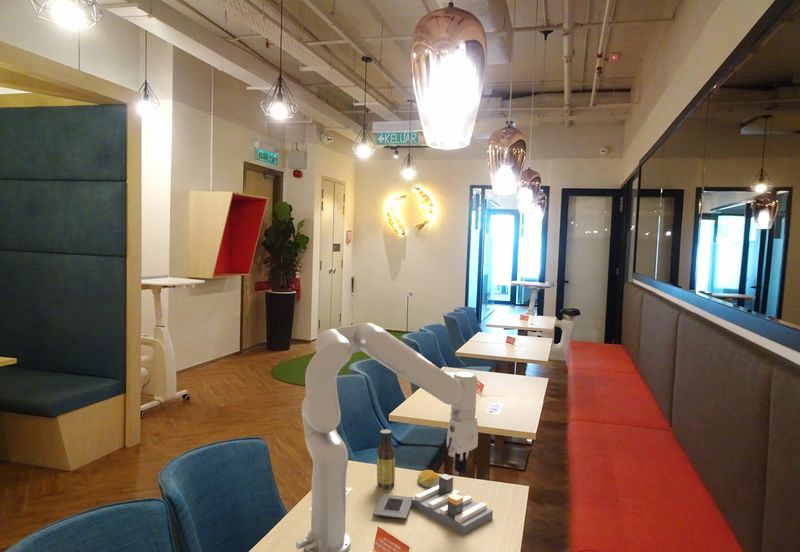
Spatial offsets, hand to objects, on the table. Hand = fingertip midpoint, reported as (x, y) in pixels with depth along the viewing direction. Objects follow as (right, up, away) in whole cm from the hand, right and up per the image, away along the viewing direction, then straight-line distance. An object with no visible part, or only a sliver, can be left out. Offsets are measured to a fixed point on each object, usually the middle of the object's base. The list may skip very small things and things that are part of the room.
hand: (460, 471), depth 162 cm
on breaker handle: (-3, -12, +13) cm, 18 cm away
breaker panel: (-2, -15, +6) cm, 16 cm away
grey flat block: (-21, -16, +6) cm, 27 cm away
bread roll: (-8, -14, +26) cm, 31 cm away
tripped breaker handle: (-2, -13, -1) cm, 13 cm away
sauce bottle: (-24, -14, +23) cm, 36 cm away
